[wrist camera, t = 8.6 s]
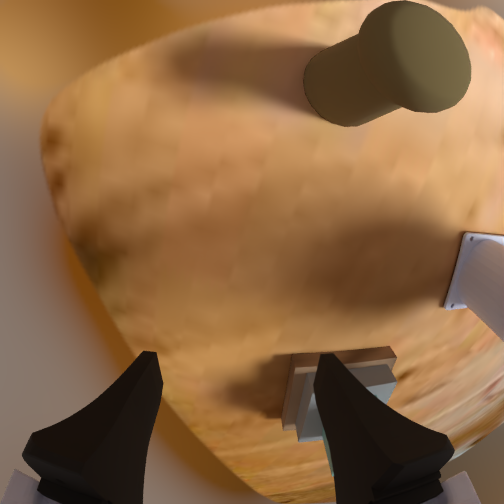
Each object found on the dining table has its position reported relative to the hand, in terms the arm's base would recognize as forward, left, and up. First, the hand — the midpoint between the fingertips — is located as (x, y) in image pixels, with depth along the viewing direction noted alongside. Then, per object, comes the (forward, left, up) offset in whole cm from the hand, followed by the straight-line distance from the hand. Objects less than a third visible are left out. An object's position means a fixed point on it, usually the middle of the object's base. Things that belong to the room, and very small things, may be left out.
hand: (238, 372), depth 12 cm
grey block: (-10, +13, -9) cm, 18 cm away
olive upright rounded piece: (-7, -14, -11) cm, 19 cm away
